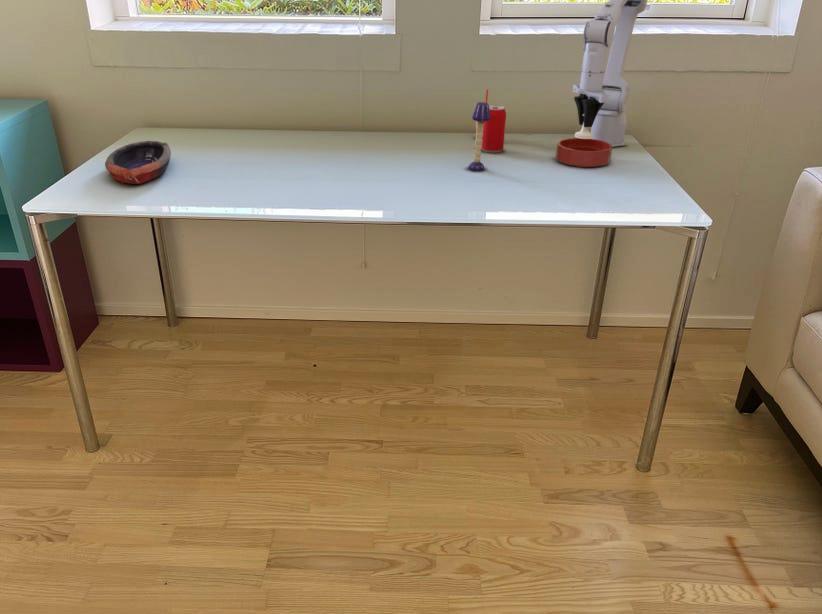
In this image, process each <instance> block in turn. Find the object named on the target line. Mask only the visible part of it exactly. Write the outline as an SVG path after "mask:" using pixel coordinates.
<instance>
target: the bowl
mask: <svg viewBox="0 0 822 614" xmlns="http://www.w3.org/2000/svg"><path fill="white" fill-rule="evenodd" d="M612 153H613V147H612V145H611V144H610V143H607V142H605V141H601V140H597V139H580V138H576V137H571V138H563V139H560V140H559V141H558V142H557V143H556V150H555V159H556V160H557V162H558V161H559V162H560V163H563V164H565V165H568V166H572V167H578V168H596V167H601V166H605V165H607V164H609V163H610V162H611V158H612Z"/></svg>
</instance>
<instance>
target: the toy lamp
mask: <svg viewBox="0 0 822 614" xmlns="http://www.w3.org/2000/svg"><path fill="white" fill-rule="evenodd" d="M471 119H472V121H475V122H476V121H477V128H476V127H475V131H476V130H477V133H476V132H475V139H474V140H475V141H474V143H475V144H474V154H473V155H474V157H473V161H472V162H470V163H469V165H468V167H467V168H468V170H469V171H471V172H482V171H484V170H485V165H484V164H483V162H481V156H482V137H483V133H482V132H483V125H484V121H489V120H490V111H489V102H487V103H486V101H485V102H484V101H479V102H477V103H476V104H475V107H474V110H473V113H472V117H471Z"/></svg>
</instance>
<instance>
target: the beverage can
mask: <svg viewBox="0 0 822 614" xmlns="http://www.w3.org/2000/svg"><path fill="white" fill-rule="evenodd" d="M488 105H489V104H488ZM505 108H506V107H505V106H504V105H499V104H498V105H497V104H491V105H489V111H490V120H489V121H484V125H483V132H482V133H483V137H482V144H481V145H482V149H481V151H483V152H484V153H488V154H497V153H500V152H501V151H503V150H504V146H505V132H506V120H507V111H506V109H505Z"/></svg>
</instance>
